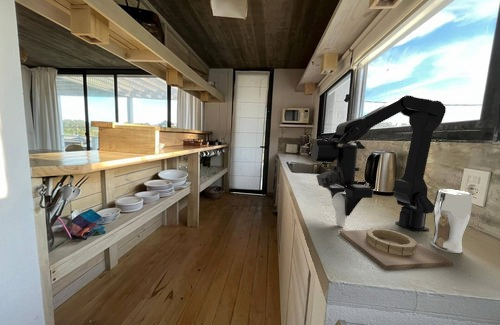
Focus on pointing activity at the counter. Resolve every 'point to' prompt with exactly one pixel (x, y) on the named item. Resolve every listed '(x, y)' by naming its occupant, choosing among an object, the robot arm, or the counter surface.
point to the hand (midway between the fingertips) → (341, 212)
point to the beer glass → (451, 219)
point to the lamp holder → (394, 249)
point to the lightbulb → (339, 208)
